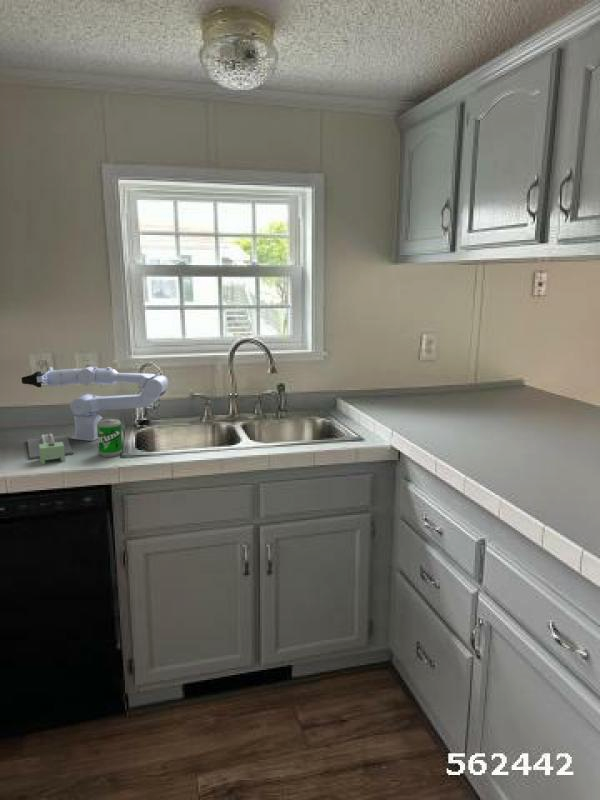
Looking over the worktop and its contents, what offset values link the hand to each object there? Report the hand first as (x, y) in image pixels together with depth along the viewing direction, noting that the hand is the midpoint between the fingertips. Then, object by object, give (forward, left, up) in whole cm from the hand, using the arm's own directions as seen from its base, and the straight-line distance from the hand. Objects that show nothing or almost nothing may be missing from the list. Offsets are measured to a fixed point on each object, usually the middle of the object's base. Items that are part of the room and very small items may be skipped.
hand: (28, 380), depth 199 cm
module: (-26, +22, -21) cm, 40 cm away
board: (-16, +11, -21) cm, 28 cm away
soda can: (-40, +11, -21) cm, 46 cm away
